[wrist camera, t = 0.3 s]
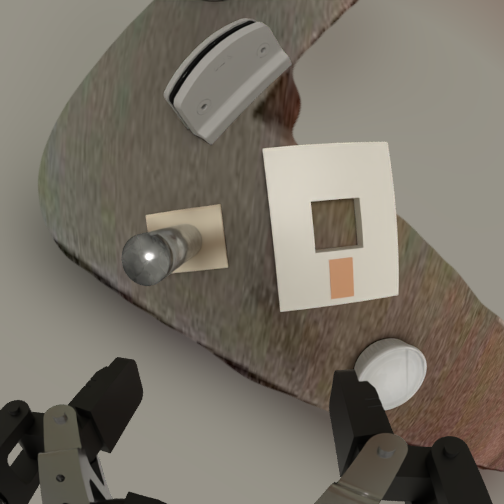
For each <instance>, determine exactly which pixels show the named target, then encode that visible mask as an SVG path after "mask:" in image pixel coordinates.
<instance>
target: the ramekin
mask: <svg viewBox="0 0 504 504" xmlns="http://www.w3.org/2000/svg"><path fill="white" fill-rule="evenodd" d="M426 368H427V364H426V359H425V357H424V355H423V354H422V352H421V351H420V350H419V349H417V348H416V347H414V346H412V345H409V344H407V343H405V342H403V341H402V340H399V339H395V338H388V339H382V340H380V341H377V342H375V343H373V344H371V345H370V346H369V347H367V348H366V349H365V350H364V351H363V352H362V353H361V355H360V356H359V358H358V359H357V361H356V363H355V367H354V370H355V372H356V374H357V377H358V380H359V381H368V382H369V383H370V384H371V385H372V386H374V387H375V388H376V391H377V393H378V395H379V399H380V400H381V403H382V407H383V408H384V410H389V409H392V408H395V407H397V406H399V405H401V404H403V403H405V402H406V401H407V400H409V399H410V398H411V397H412V396H413V395H414V394H415V393H416V392H417V390H418V389H419V387H420V386H421V384H422V382H423V380H424V378H425V374H426Z"/></svg>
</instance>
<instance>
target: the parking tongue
mask: <svg viewBox="0 0 504 504" xmlns="http://www.w3.org/2000/svg"><path fill="white" fill-rule="evenodd" d="M146 221H147V229H148V232H150V231H154V230H158V229H163V228H167V227H171V226H175V225H179V224H191V225H193V226H195V227H196V228H197V229H198V230H199V232H200V233H201V236H202V246H201V249H200V250H199V252H198V253H197V254H196V255H195V256H193V257H192V258H191V259H189V260H188V261H187V262H185V263H184V264H183V265H181V266H180V267H179V268H177V269H176V270H175V271H173V272H172V273H179V272H189V271H199V270H209V269H218V268H228V267H229V265H228V257H227V250H226V242H225V234H224V226H223V218H222V209H221V204H219V205H211V206H204V207H196V208H189V209H182V210H176V211H169V212H162V213H156V214H150V215H146Z"/></svg>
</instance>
